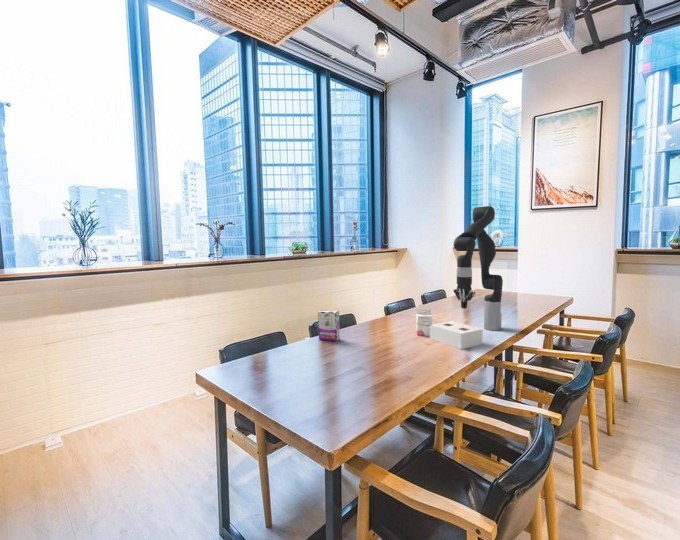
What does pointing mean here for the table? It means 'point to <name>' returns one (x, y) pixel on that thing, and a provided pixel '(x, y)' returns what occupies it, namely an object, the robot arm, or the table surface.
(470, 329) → the housing
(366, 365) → the table surface
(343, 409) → the table surface
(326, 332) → the candy bar box
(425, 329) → the ink cartridge box
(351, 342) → the table surface
